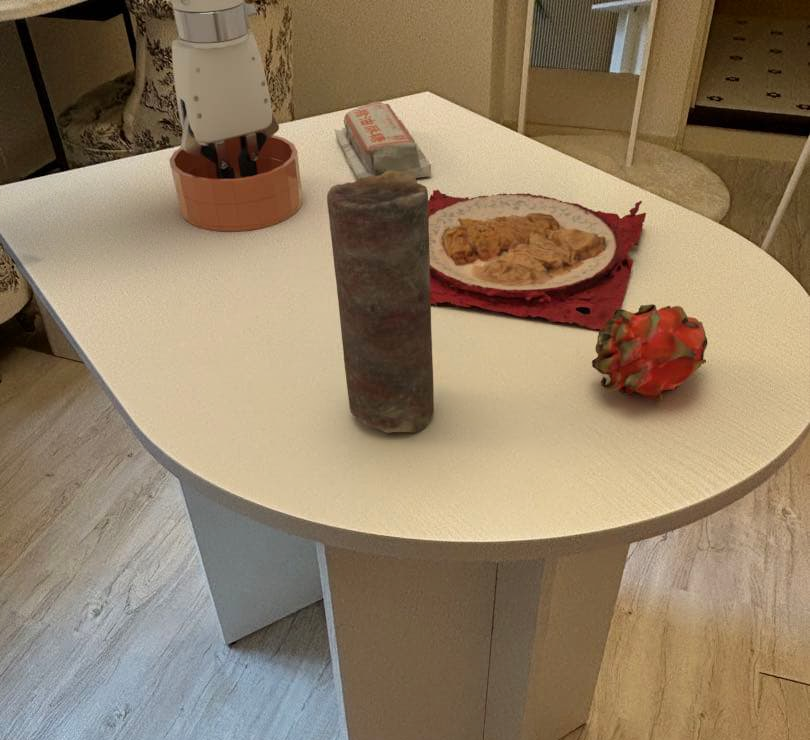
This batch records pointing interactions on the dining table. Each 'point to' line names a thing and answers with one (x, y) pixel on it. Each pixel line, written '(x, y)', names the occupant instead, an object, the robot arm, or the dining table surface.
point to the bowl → (239, 188)
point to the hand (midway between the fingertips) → (240, 193)
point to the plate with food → (530, 256)
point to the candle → (384, 298)
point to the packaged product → (380, 143)
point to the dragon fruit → (649, 350)
